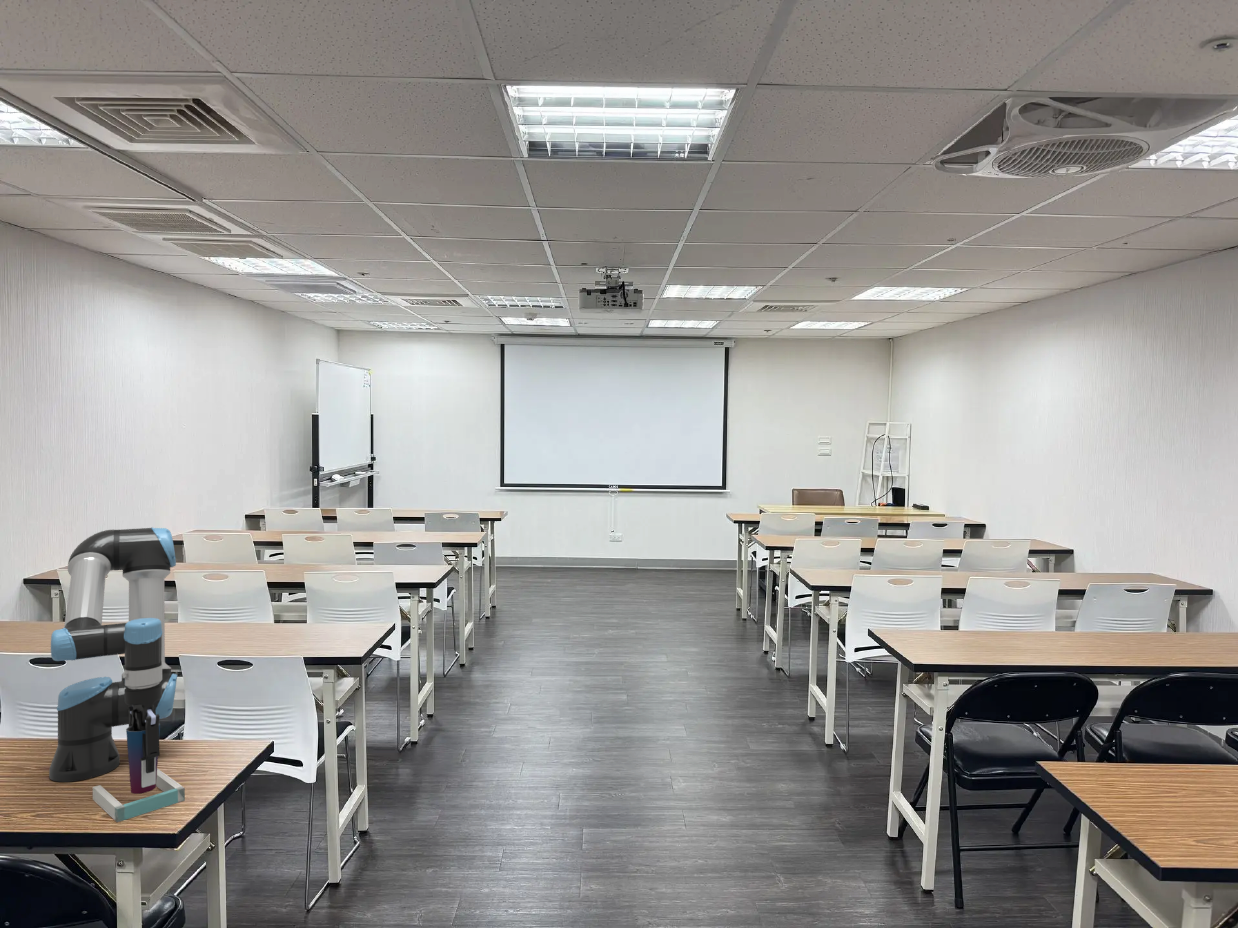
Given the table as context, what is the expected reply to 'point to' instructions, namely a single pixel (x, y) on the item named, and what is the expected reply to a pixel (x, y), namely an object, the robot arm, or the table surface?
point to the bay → (122, 812)
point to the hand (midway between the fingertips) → (143, 781)
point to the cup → (137, 761)
